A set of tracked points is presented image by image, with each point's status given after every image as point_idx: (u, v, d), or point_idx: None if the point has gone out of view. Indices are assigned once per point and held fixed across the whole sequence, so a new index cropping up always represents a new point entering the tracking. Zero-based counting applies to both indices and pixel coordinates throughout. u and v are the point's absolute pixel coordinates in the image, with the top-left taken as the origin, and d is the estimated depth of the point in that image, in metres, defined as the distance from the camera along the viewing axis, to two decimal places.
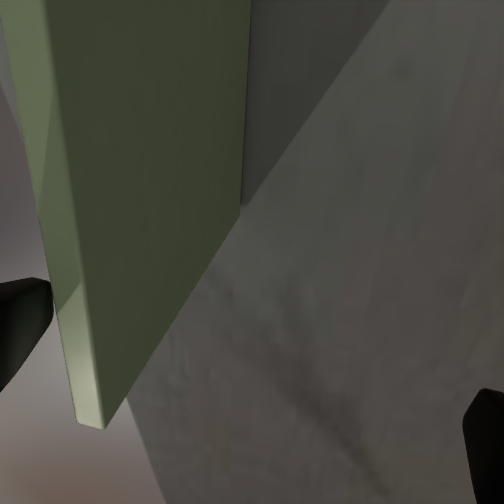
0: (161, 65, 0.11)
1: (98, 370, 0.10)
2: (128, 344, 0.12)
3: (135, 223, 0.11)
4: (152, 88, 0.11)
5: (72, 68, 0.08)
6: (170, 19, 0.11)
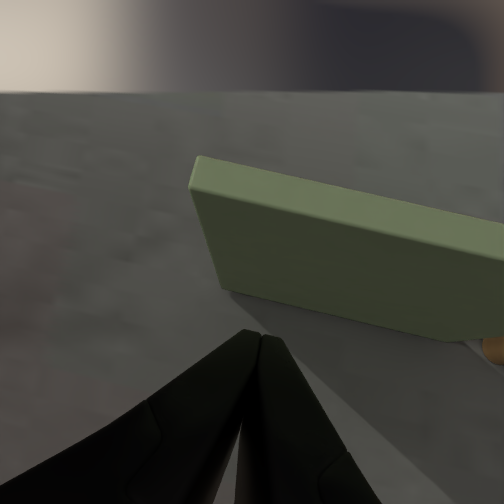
0: (472, 303, 0.13)
1: (279, 210, 0.09)
2: (260, 225, 0.11)
3: (377, 263, 0.11)
4: (467, 297, 0.13)
5: None
6: (494, 313, 0.14)
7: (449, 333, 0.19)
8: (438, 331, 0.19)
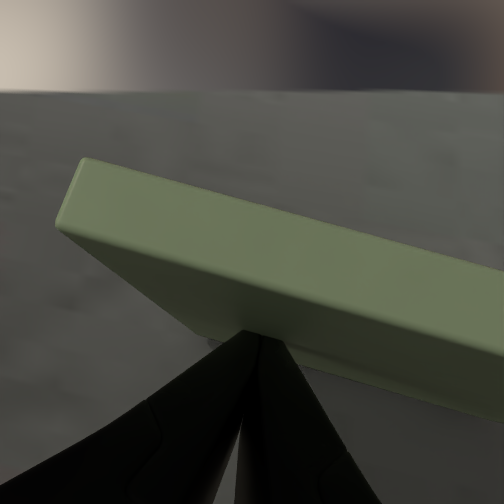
0: None
1: (250, 285, 0.04)
2: (219, 297, 0.06)
3: (434, 367, 0.06)
4: None
5: None
6: None
7: (501, 419, 0.14)
8: (486, 415, 0.14)
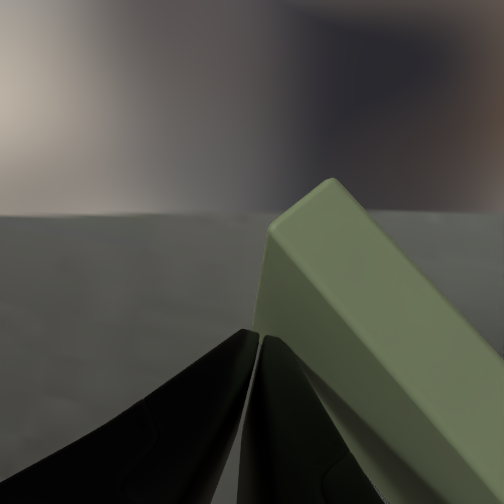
0: None
1: (422, 413, 0.04)
2: (351, 372, 0.05)
3: None
4: None
5: None
6: None
7: None
8: None
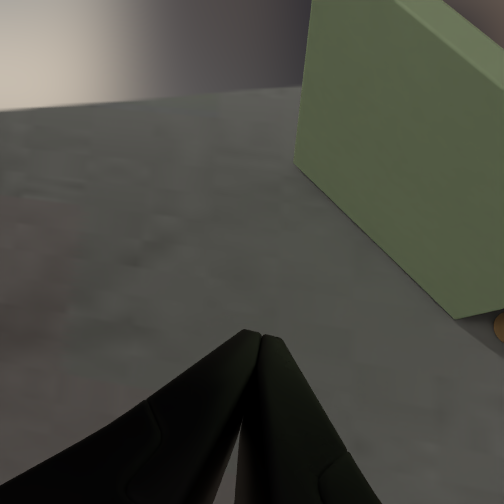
0: (492, 217, 0.14)
1: None
2: (354, 20, 0.12)
3: (429, 112, 0.12)
4: (489, 201, 0.13)
5: None
6: None
7: (460, 294, 0.19)
8: (451, 288, 0.19)
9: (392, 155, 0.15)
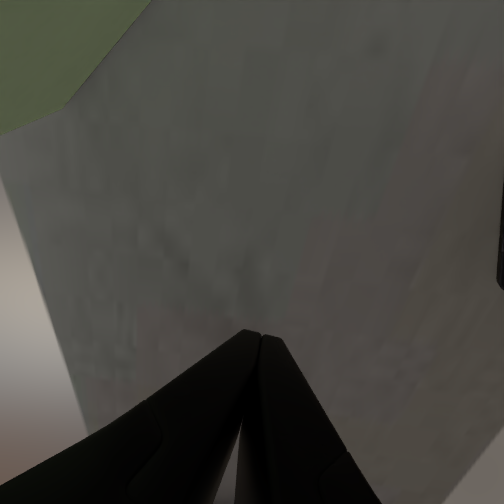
0: None
1: None
2: None
3: None
4: None
5: None
6: None
7: None
8: None
9: (8, 65, 0.13)
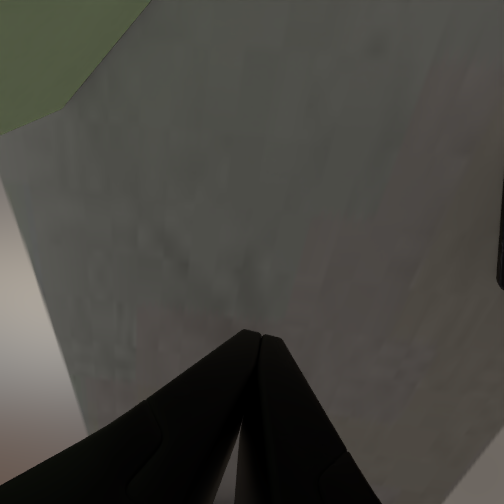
0: None
1: None
2: None
3: None
4: None
5: None
6: None
7: None
8: None
9: (7, 65, 0.13)
